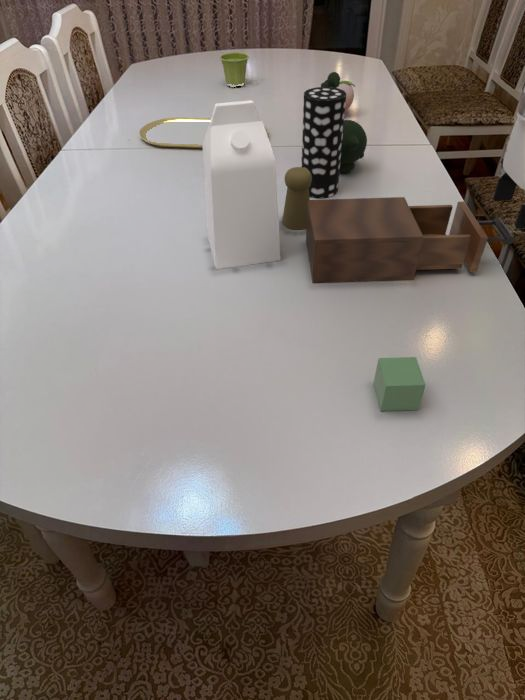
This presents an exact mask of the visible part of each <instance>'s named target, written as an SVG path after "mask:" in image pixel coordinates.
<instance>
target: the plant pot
mask: <svg viewBox="0 0 525 700" xmlns="http://www.w3.org/2000/svg"><path fill="white" fill-rule="evenodd" d="M249 57H250V56H249V54H247V53H245V52H227V53H223V54H221V55H219V59H220V60H221V64H222V67H223V73H224V78H225V84H226V83H227V84H232V85H233V84H234V85H238V84H242V83H244V82H245V83H246V73H247V65H248V60H249ZM227 87H228V88H230V89H231V88H232V89H237V87H235V88H234V87H229V86H227ZM243 87H244V86H241V87H240V88H243Z"/></svg>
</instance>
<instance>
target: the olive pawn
mask: <svg viewBox="0 0 525 700" xmlns="http://www.w3.org/2000/svg"><path fill="white" fill-rule="evenodd" d="M311 181H312V175H311V173H310V171H309V170H308V169H306V168H303V167H301V166H295V167H291V168H289V169H288V170H287V171H286V172H285V175H284V184H285V186H286V187H287V188H286V195H285V201H284V208H283V213H282V220H281V223H282V225H283V227H285V228H286V229H289V230H292V231H301V230H305V229H306V226H307V205H308V204H307V203H308V200H311V199H310V198H311V197H309V186H310V185H311Z"/></svg>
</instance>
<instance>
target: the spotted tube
mask: <svg viewBox="0 0 525 700" xmlns="http://www.w3.org/2000/svg"><path fill="white" fill-rule="evenodd" d="M345 104H346V92H345V91H344V90H341V89H338V88H333V87H321V86H317V87H311V88H308V89H307V90H305V91H304V92H303V105H302V106H303V107H302V137H301V139H302V140H301V163H300V164H301V166H300V167H303V168H306V169H308V170H309V171H310V173H311V175H312V181H311V185H310V186H309V197H310V198H312V199H327V198H328V199H329V198H331V197H333V196H335V195H336V194H337V193H338V191H339V183H340V182H339V181H340V173H341V172H340V160H341V149H342V138H343V126H344V120H345V115H346V114H345V112H346V111H345Z"/></svg>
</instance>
